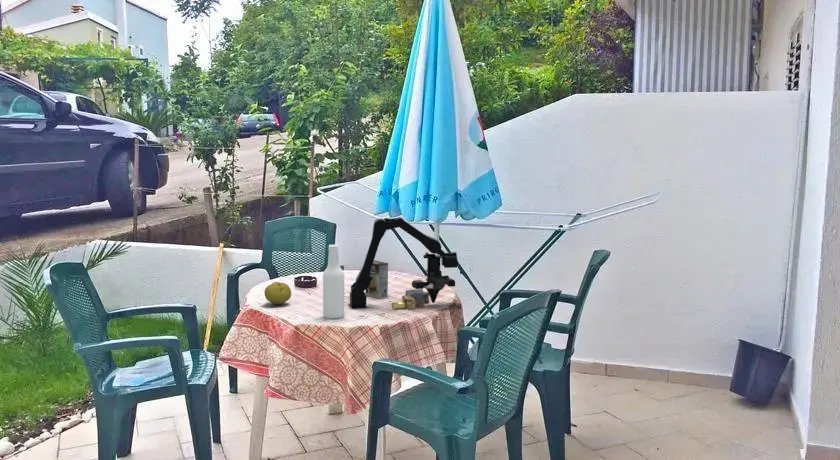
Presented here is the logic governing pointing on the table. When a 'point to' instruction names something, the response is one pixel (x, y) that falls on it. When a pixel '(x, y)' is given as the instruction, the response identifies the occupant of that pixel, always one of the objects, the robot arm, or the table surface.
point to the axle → (399, 305)
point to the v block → (418, 295)
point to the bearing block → (409, 302)
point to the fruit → (278, 293)
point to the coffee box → (378, 280)
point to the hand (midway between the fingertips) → (433, 302)
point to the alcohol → (333, 286)
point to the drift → (419, 304)
